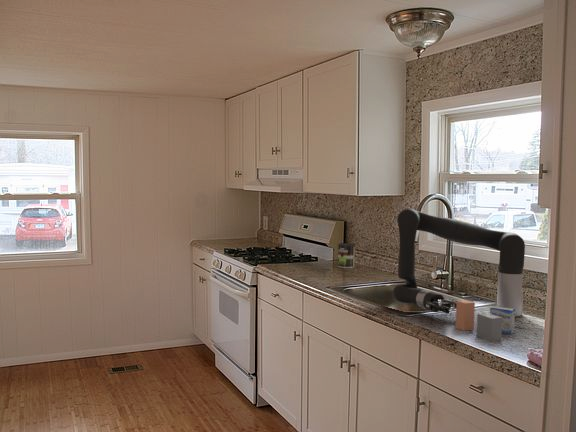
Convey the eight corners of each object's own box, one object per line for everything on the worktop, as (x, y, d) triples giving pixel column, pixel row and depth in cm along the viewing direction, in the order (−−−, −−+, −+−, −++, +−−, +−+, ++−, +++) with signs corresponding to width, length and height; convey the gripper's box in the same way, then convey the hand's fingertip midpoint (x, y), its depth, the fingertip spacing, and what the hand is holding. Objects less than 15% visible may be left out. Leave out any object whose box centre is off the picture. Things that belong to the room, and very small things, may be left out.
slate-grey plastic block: (486, 335, 195) (487, 312, 195) (501, 340, 189) (502, 317, 188) (476, 336, 193) (477, 313, 193) (491, 341, 187) (492, 318, 186)
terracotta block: (465, 326, 206) (466, 299, 206) (473, 329, 202) (474, 302, 202) (455, 327, 204) (456, 300, 204) (464, 330, 200) (465, 303, 200)
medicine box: (488, 330, 200) (489, 307, 200) (491, 328, 204) (492, 305, 204) (511, 334, 196) (512, 310, 196) (514, 331, 200) (515, 308, 199)
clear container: (349, 269, 332) (349, 245, 331) (334, 267, 338) (334, 244, 337) (357, 266, 340) (358, 244, 339) (343, 265, 346) (343, 242, 345)
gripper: (415, 292, 218) (443, 301, 203) (444, 290, 224) (473, 298, 209) (415, 311, 219) (442, 321, 204) (443, 308, 224) (472, 317, 210)
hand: (457, 309), depth 207 cm, fingers open, 8 cm apart
